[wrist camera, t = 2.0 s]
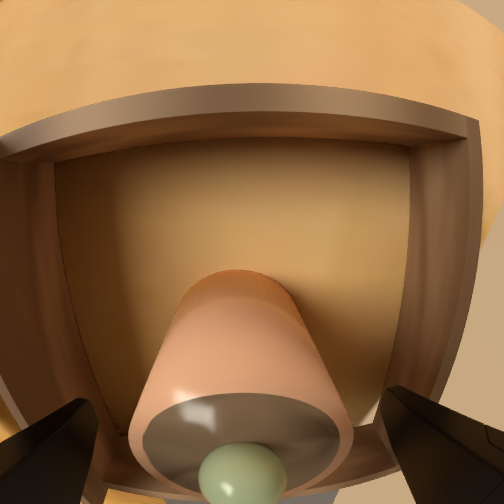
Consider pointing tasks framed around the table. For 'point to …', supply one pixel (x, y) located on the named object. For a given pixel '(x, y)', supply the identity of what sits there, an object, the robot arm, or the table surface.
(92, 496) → the frame
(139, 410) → the terracotta pot
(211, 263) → the table surface
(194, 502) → the mat
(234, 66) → the table surface
